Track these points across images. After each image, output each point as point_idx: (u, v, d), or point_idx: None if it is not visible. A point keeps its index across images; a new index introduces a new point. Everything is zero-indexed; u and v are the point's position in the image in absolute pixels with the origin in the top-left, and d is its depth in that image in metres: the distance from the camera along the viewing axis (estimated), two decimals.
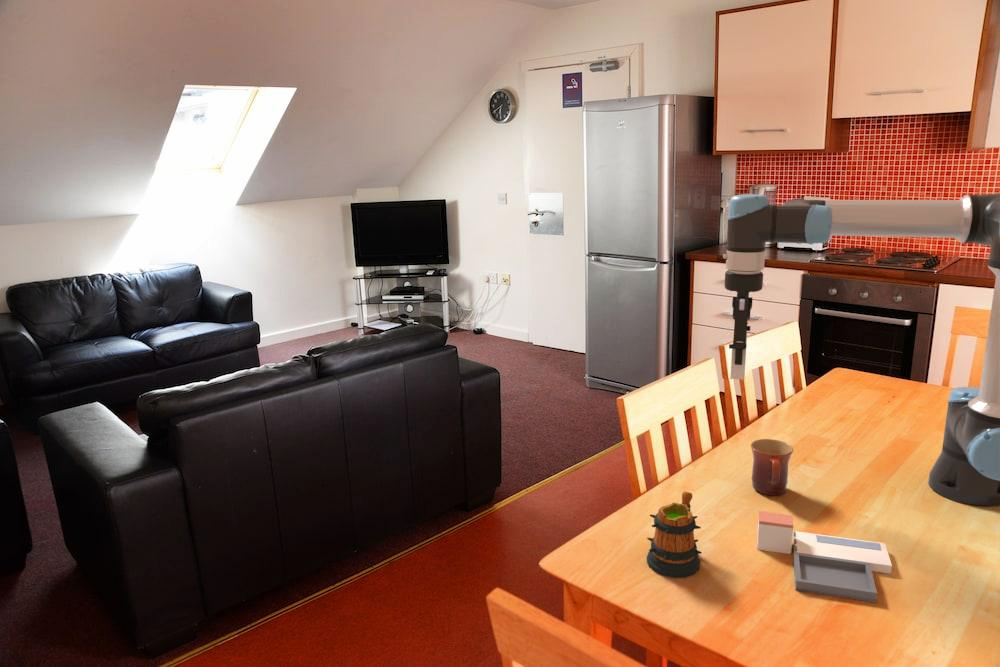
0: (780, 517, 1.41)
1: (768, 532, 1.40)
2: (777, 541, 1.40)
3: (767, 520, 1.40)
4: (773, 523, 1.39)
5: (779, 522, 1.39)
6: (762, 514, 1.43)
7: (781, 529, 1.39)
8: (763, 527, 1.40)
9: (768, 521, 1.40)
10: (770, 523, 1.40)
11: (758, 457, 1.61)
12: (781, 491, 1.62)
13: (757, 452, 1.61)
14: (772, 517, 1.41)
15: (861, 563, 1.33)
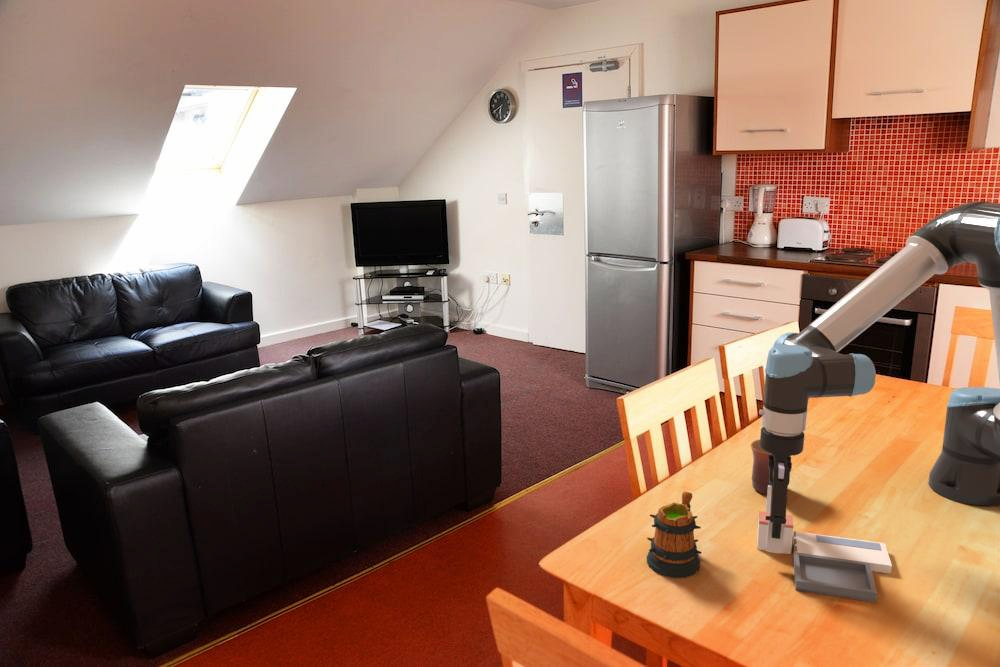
0: None
1: None
2: None
3: (767, 520, 1.40)
4: None
5: None
6: (762, 514, 1.43)
7: None
8: (763, 527, 1.40)
9: (768, 521, 1.40)
10: None
11: (758, 457, 1.61)
12: None
13: (757, 452, 1.61)
14: None
15: (861, 563, 1.33)
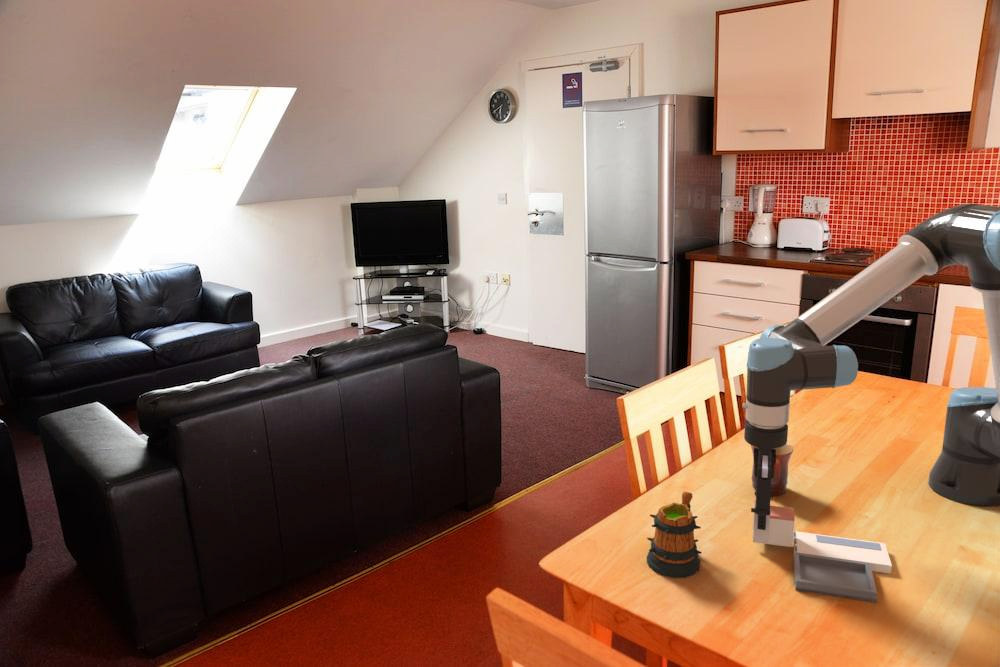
0: (781, 510, 1.41)
1: (769, 525, 1.40)
2: (778, 534, 1.40)
3: None
4: (774, 516, 1.39)
5: (780, 515, 1.39)
6: None
7: (782, 522, 1.39)
8: None
9: None
10: (771, 517, 1.39)
11: None
12: (781, 491, 1.62)
13: None
14: (773, 510, 1.41)
15: (861, 563, 1.33)
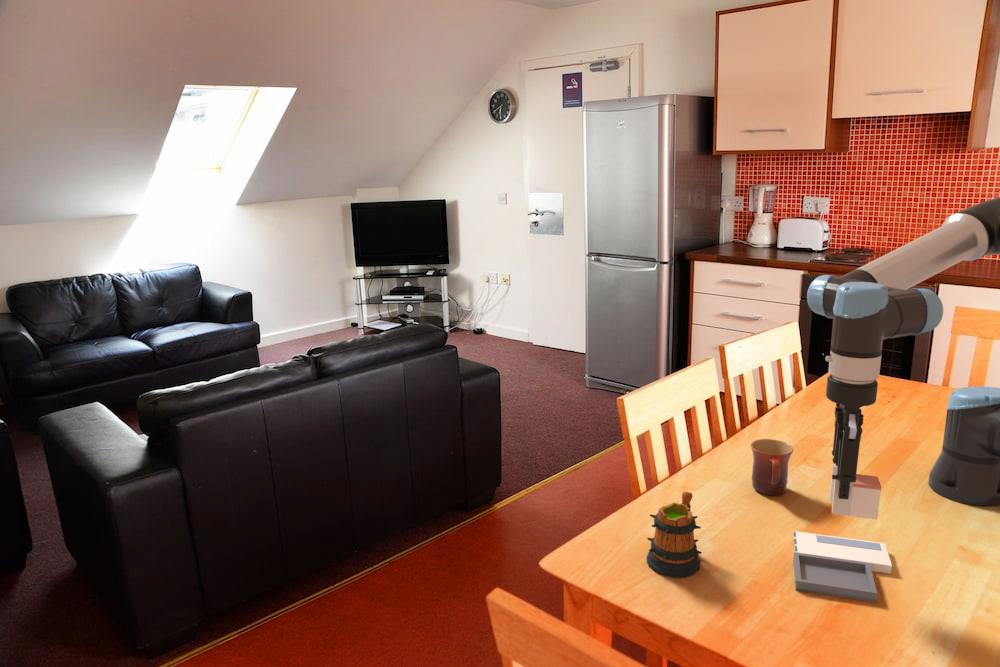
0: (864, 478, 1.26)
1: None
2: (861, 504, 1.24)
3: None
4: (858, 484, 1.24)
5: (864, 483, 1.24)
6: None
7: (866, 491, 1.24)
8: None
9: None
10: (854, 485, 1.24)
11: (758, 457, 1.61)
12: (781, 491, 1.62)
13: (757, 452, 1.61)
14: None
15: (861, 563, 1.33)
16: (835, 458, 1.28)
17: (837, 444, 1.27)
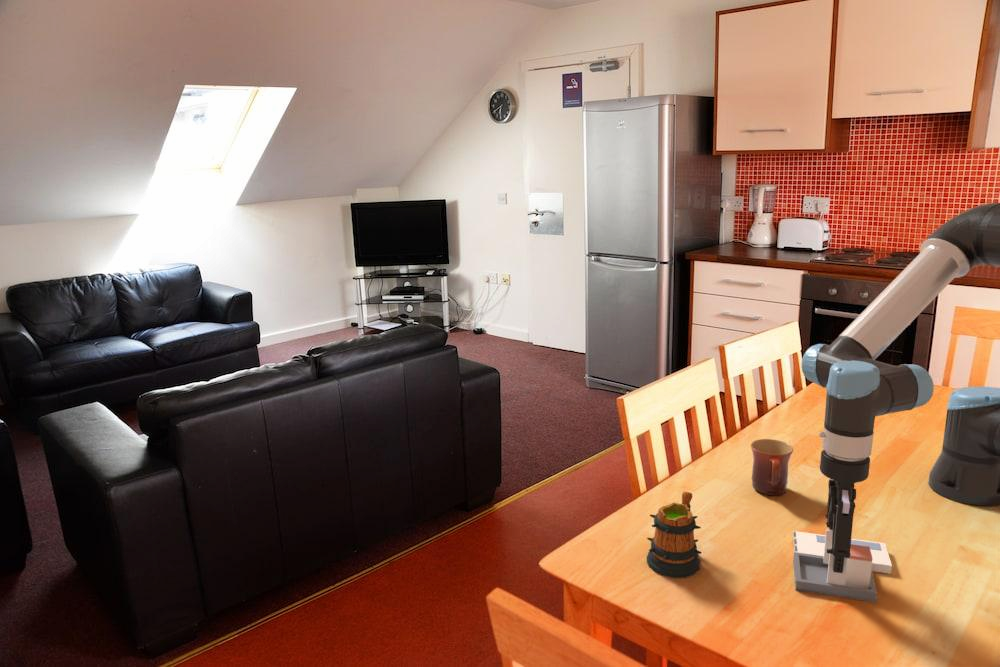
0: (856, 549, 1.29)
1: None
2: (853, 575, 1.28)
3: None
4: (850, 556, 1.27)
5: (856, 555, 1.27)
6: None
7: (858, 562, 1.27)
8: None
9: None
10: None
11: (758, 457, 1.61)
12: (781, 491, 1.62)
13: (757, 452, 1.61)
14: None
15: None
16: (828, 523, 1.33)
17: (830, 512, 1.31)
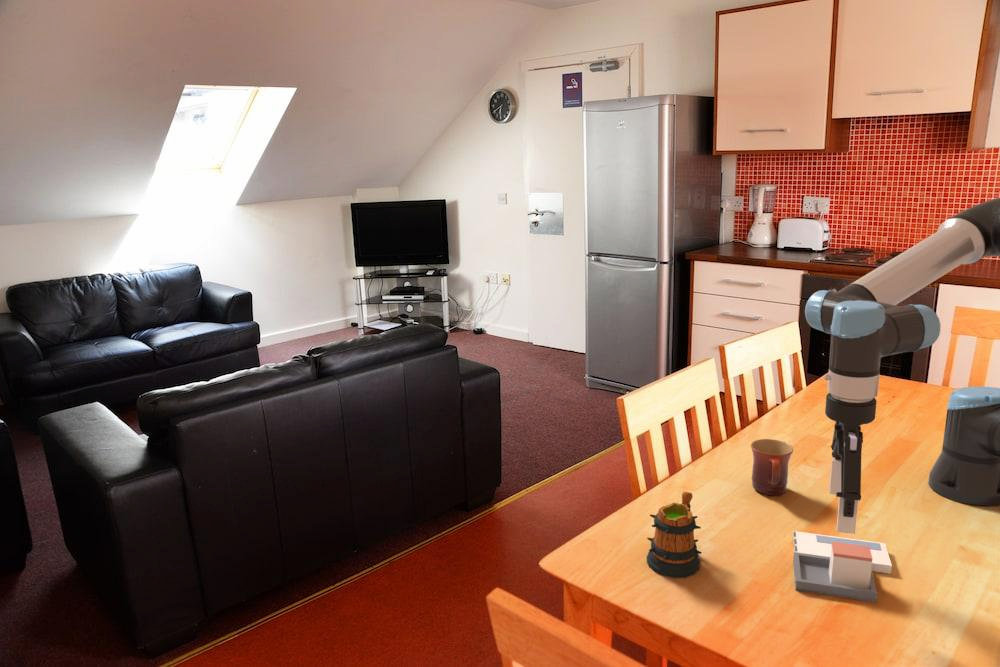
0: (856, 549, 1.29)
1: (844, 565, 1.28)
2: (853, 575, 1.28)
3: (842, 552, 1.28)
4: (850, 556, 1.27)
5: (856, 555, 1.27)
6: (836, 545, 1.30)
7: (858, 562, 1.27)
8: (838, 560, 1.28)
9: (844, 553, 1.28)
10: (846, 556, 1.27)
11: (758, 457, 1.61)
12: (781, 491, 1.62)
13: (757, 452, 1.61)
14: (847, 549, 1.29)
15: None
16: (834, 455, 1.33)
17: (836, 448, 1.30)
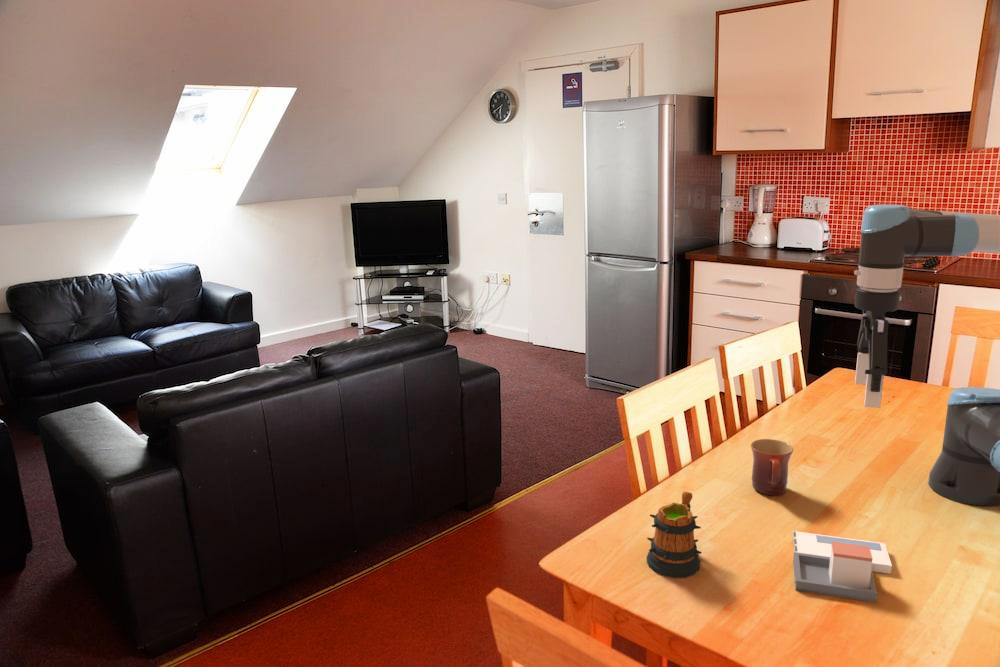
0: (856, 549, 1.29)
1: (844, 565, 1.28)
2: (853, 575, 1.28)
3: (842, 552, 1.28)
4: (850, 556, 1.27)
5: (856, 555, 1.27)
6: (836, 545, 1.30)
7: (858, 562, 1.27)
8: (838, 560, 1.28)
9: (844, 553, 1.28)
10: (846, 556, 1.27)
11: (758, 457, 1.61)
12: (781, 491, 1.62)
13: (757, 452, 1.61)
14: (847, 549, 1.29)
15: None
16: (860, 349, 1.50)
17: (862, 340, 1.48)
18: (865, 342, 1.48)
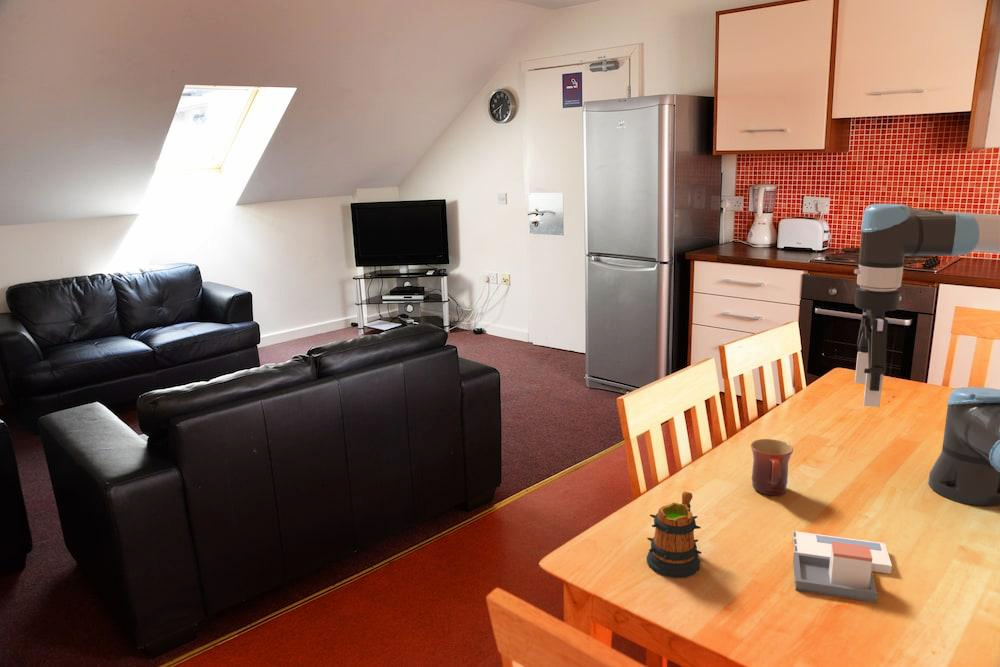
0: (856, 549, 1.29)
1: (844, 565, 1.28)
2: (853, 575, 1.28)
3: (842, 552, 1.28)
4: (850, 556, 1.27)
5: (856, 555, 1.27)
6: (836, 545, 1.30)
7: (858, 562, 1.27)
8: (838, 560, 1.28)
9: (844, 553, 1.28)
10: (846, 556, 1.27)
11: (758, 457, 1.61)
12: (781, 491, 1.62)
13: (757, 452, 1.61)
14: (847, 549, 1.29)
15: None
16: (860, 348, 1.50)
17: (862, 339, 1.48)
18: (865, 341, 1.48)
